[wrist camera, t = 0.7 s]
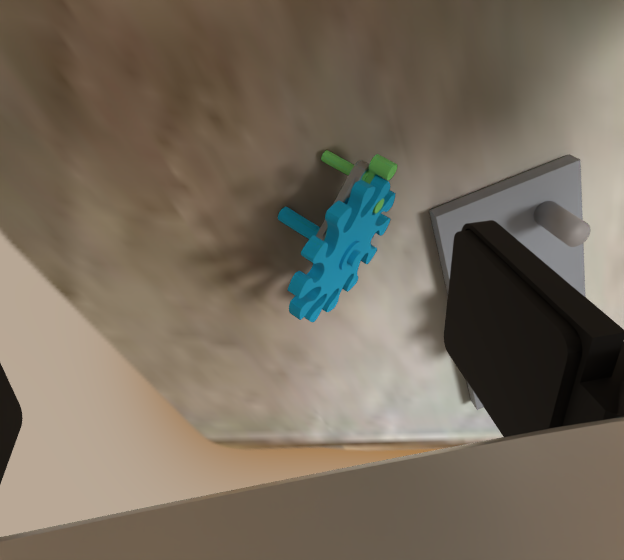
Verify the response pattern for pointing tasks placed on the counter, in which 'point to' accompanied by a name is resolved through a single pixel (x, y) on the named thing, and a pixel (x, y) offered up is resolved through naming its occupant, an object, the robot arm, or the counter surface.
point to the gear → (340, 234)
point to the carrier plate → (525, 220)
